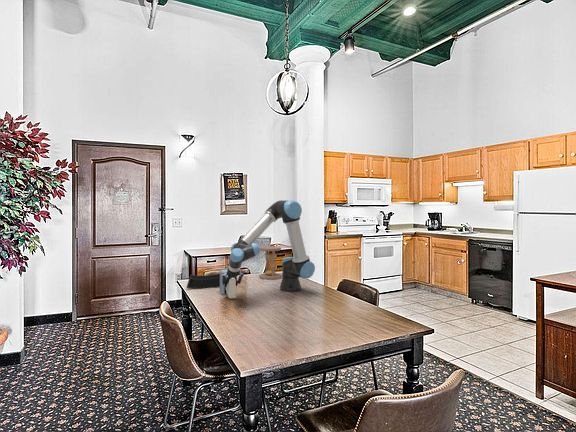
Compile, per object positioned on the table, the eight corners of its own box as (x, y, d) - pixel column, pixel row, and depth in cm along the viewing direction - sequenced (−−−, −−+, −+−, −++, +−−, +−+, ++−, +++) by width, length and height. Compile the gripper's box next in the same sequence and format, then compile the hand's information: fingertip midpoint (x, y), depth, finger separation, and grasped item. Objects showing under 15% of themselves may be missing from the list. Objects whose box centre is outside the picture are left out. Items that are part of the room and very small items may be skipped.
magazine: (183, 277, 256) (224, 262, 265) (182, 276, 259) (223, 262, 268) (190, 300, 258) (231, 284, 267) (190, 298, 261) (230, 283, 271)
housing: (235, 294, 245) (235, 272, 244) (222, 295, 242) (222, 273, 242) (231, 289, 258) (231, 269, 257) (219, 290, 255) (219, 269, 255)
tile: (235, 298, 231) (235, 279, 230) (229, 298, 229) (229, 279, 229) (232, 293, 243) (232, 275, 243) (226, 293, 242) (226, 275, 241)
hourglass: (258, 276, 308) (258, 246, 307) (278, 275, 312) (278, 245, 311) (261, 280, 291) (261, 248, 290) (282, 279, 295) (283, 248, 294)
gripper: (220, 273, 218) (217, 294, 235) (248, 272, 224) (243, 292, 240) (219, 263, 223) (216, 284, 239) (247, 262, 229) (242, 283, 245)
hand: (229, 288), depth 240 cm, fingers closed on tile, 4 cm apart
